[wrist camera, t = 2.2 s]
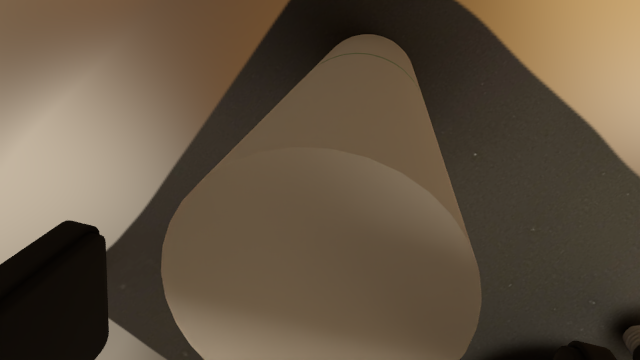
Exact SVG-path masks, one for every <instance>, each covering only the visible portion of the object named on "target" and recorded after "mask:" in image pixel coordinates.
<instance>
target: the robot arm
mask: <svg viewBox="0 0 640 360" xmlns="http://www.w3.org/2000/svg"><path fill="white" fill-rule="evenodd" d="M105 243H106V242H105V238H104V236H102V235H100V234H99V230H98V229H97V228H96V227H95V226H91V225H87V224H82V223H78V222H74V221H65V222H62V223H61V224H59V225H58V226H56V227H55V228H53V229H52V230H50V231H49V232H47V233H46V234H44V235H43V236H42V237H40V238H39V239H37V240H36V241H34V242H33V243H31V244H30V245H28V246H27V247H26V248H24V249H22V250H21V251H20V252H18V253H17V254H15V255H14V256H12V257H11V258H9V259H8V260H6V261H5V262H4V263H2V264H1V265H0V360H95V358H96V357H97V356H98V355H99V354H100V352H101V351H102V349H103V348H104V346H105V344H106V342H107V338H108V334H109V333H108V332H109V327H108V298H107V270H106V244H105ZM553 360H616V358H615V356H614V355H613V353H612V352H611V351H610V350H609V349H607V348H605V347H600V346H596V345H592V344H588V343H584V342H579V341H572V342H571V343H569V345H568V346H562V347H560V348H559V349H558V351H557V353H556V354H555V356H554V358H553Z"/></svg>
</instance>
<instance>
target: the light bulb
mask: <svg viewBox="0 0 640 360" xmlns="http://www.w3.org/2000/svg"><path fill="white" fill-rule="evenodd" d="M623 340H624V342H625V344H626V347H627V348H628V349H629V351H630V352H631V354H632V356H633V360H640V325H637V326H631V327H630V328H629V329H627V330H626V331H625V333H624V335H623Z"/></svg>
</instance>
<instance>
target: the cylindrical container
mask: <svg viewBox="0 0 640 360" xmlns="http://www.w3.org/2000/svg"><path fill="white" fill-rule="evenodd" d="M161 275H162V281H163V286H164V292H165V297H166V300H167V303H168V305H169V307H170V310H171V312H172V315H173V317H174V319H175V322H176V324H177V325H178V327H179V328H180V330H181V331H182V333H183V334H184V336H185V337H186V339H187V340H188V342H189V343H190V345H191V346H192V347H193V348H194V349H195V350H196V351H197V352H198V353H199V354H200V356H201V357H202V358H203V359H204V360H460V359H461V357H462V356H463V355H464V353H465V352H466V350H467V348H468V346H469V344H470V342H471V340H472V337H473V335H474V333H475V331H476V329H477V325H478V319H479V314H480V308H481V302H482V295H481V284H480V273H479V268H478V265H477V262H476V259H475V256H474V253H473V250H472V247H471V244H470V240H469V237H468V234H467V231H466V228H465V225H464V222H463V219H462V216H461V213H460V210H459V207H458V204H457V201H456V198H455V195H454V191H453V188H452V185H451V182H450V179H449V176H448V173H447V170H446V167H445V164H444V161H443V158H442V155H441V152H440V149H439V146H438V142H437V139H436V136H435V133H434V130H433V127H432V124H431V121H430V118H429V115H428V112H427V109H426V106H425V103H424V100H423V97H422V94H421V91H420V88H419V85H418V82H417V79H416V76H415V73H414V70H413V67H412V64H411V61H410V59H409V58H408V56H407V54H406V53H405V52H404V51H403V50H402V48H401V47H400V46H399V45H397V44H396V43H394V42H393V41H392V40H389V39H387V38H385V37H383V36H378V35H374V34H362V35H357V36H353V37H350V38H348V39H346V40H344V41H342V42H341V43H339V44H338V45H337V46H335V47H334V48H333V49H332V50H331V51H330V52H329V53H328V54H327V55H326V56H325V57H324V58H323V59H322V60H321V61H320V62H319V63H318V64H317V65H316V66H315V67H314V68H313V69H312V70H311V71H310V72H309V73H308V74H307V75H306V76H305V77H304V78H303V79H302V80H301V81H300V82H299V83H298V84H297V85H296V86H295V87H294V88H293V89H292V90H291V91H290V92H289V93H288V94H287V95H286V96H285V97H284V98H283V99H282V100H281V101H280V102H279V103H278V104H277V105H276V106H275V107H274V108H273V109H272V110H271V111H270V112H269V113H268V114H267V115H266V116H265V117H264V118H263V119H262V120H261V121H260V122H259V123H258V124H257V125H256V126H255V127H254V128H253V129H252V130H251V131H250V132H249V133H248V134H247V135H246V136H245V137H244V138H243V139H242V140H241V141H240V142H239V143H238V144H237V145H236V146H235V147H234V148H233V149H232V150H231V151H230V152H229V153H228V154H227V155H226V156H225V157H224V158H223V159H222V160H221V161H220V162H219V163H218V164H217V165H216V166H215V167H214V168H213V169H212V170H211V171H210V172H209V173H208V174H207V175H206V176H205V177H204V178H203V179H202V180H201V181H200V182H199V184H198V185H197V186H196V187H195V188H194V189H193V190H192V191H191V192H190V193H189V194H188V195H187V196H186V197H185V198H184V200H183V201H182V202H181V204H180V206H179V207H178V209H177V211H176V212H175V214H174V216H173V218H172V219H171V221H170V223H169V226H168V230H167V233H166V236H165V240H164V243H163V246H162V263H161Z"/></svg>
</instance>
